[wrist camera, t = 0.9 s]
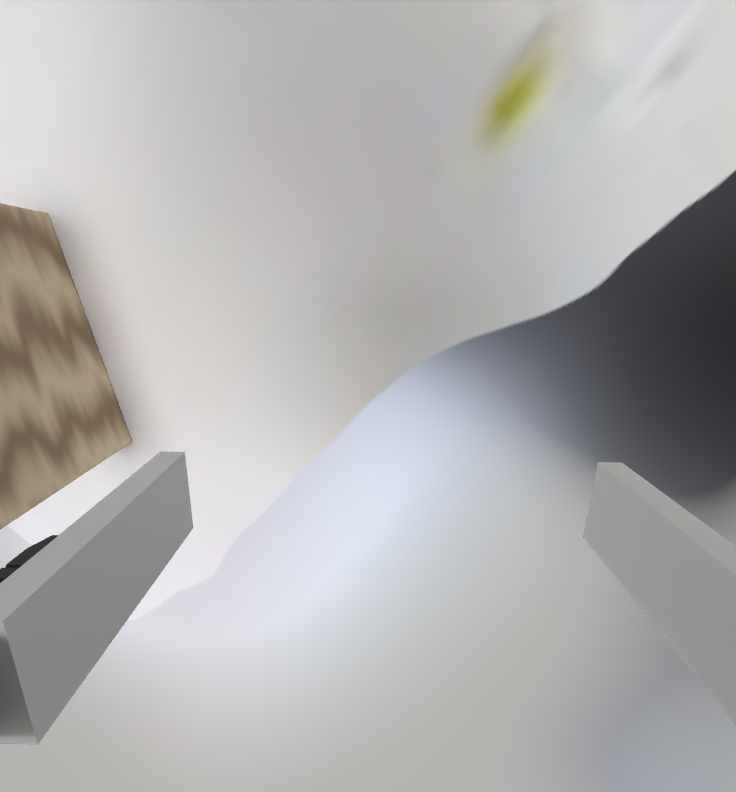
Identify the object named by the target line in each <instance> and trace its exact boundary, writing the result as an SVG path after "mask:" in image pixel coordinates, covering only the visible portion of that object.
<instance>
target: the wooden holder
mask: <svg viewBox="0 0 736 792" xmlns="http://www.w3.org/2000/svg"><path fill="white" fill-rule="evenodd" d="M131 442H132V440H131V437H130V434H129V432H128V429H127V426H126V424H125V421H124V418H123V415H122V413H121V410H120V407H119V405H118V402H117V399H116V397H115V394H114V391H113V388H112V386H111V383H110V380H109V378H108V375H107V372H106V369H105V367H104V364H103V361H102V359H101V356H100V353H99V350H98V348H97V345H96V342H95V340H94V337H93V334H92V331H91V329H90V326H89V323H88V321H87V318H86V315H85V313H84V310H83V307H82V304H81V302H80V299H79V296H78V294H77V291H76V288H75V285H74V283H73V280H72V277H71V275H70V272H69V269H68V266H67V264H66V261H65V258H64V256H63V253H62V250H61V248H60V245H59V242H58V239H57V237H56V234H55V231H54V229H53V226H52V223H51V220H50V218H49V215H48V213H43V212H38V211H33V210H29V209H24V208H19V207H14V206H10V205H5V204H0V529H2V528H3V527H5V526H6V525H8V524H9V523H11V522H12V521H14V520H15V519H17V518H18V517H20V516H21V515H23V514H24V513H26V512H27V511H29V510H30V509H32V508H33V507H35V506H36V505H38V504H39V503H41V502H42V501H44V500H45V499H47V498H48V497H50V496H51V495H53V494H54V493H56V492H57V491H59V490H60V489H62V488H63V487H65V486H66V485H68V484H69V483H71V482H72V481H74V480H75V479H77V478H78V477H80V476H81V475H83V474H84V473H86V472H87V471H89V470H90V469H92V468H93V467H95V466H96V465H98V464H99V463H101V462H102V461H104V460H105V459H107V458H108V457H110V456H111V455H113V454H114V453H116V452H117V451H119V450H120V449H122V448H123V447H125V446H126V445H128V444H129V443H131Z"/></svg>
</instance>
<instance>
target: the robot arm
mask: <svg viewBox="0 0 736 792" xmlns="http://www.w3.org/2000/svg"><path fill="white" fill-rule="evenodd" d="M192 529H193V522H192V513H191V504H190V495H189V486H188V477H187V468H186V459H185V452H160V453H158V454H157V455H156V456H155V457H154V458H152V459H151V460H150V461H149V462H148V463H146V464H145V465H144V466H143V467H141V468H140V469H139V470H138V471H137V472H135V473H134V474H133V475H132V476H130V477H129V478H128V479H127V480H126V481H124V482H123V483H122V484H121V485H119V486H118V487H117V488H116V489H115V490H113V491H112V492H111V493H110V494H109V495H107V496H106V497H105V498H104V499H102V500H101V501H100V502H99V503H98V504H96V505H95V506H94V507H93V508H91V509H90V510H89V511H88V512H87V513H85V514H84V515H83V516H82V517H81V518H79V519H78V520H77V521H76V522H74V523H73V524H72V525H71V526H70V527H68V528H67V529H66V530H65V531H63V532H62V533H61V534H60V535H52V536H50V537H48V538H46V539H44V540H42V541H40V542H39V543H37V544H35V545H33V546H31V547H29V548H27V549H26V550H24V551H23V552H22V553H21V554H19V555H18V556H17V557H15V558H14V559H13V560H12V561H10V562H9V563H8V564H7V565H6V567H5V568H1V569H0V744H27V745H38V744H39V742H40V741H41V739H42V738H43V737H44V735H45V734H46V732H47V731H48V730H49V728H50V727H51V725H52V724H53V723H54V721H55V720H56V718H57V717H58V716H59V714H60V713H61V711H62V710H63V709H64V707H65V706H66V705H67V703H68V702H69V700H70V699H71V698H72V696H73V695H74V693H75V692H76V691H77V689H78V687H79V686H80V685H81V684H82V682H83V681H84V679H85V678H86V677H87V675H88V674H89V672H90V671H91V670H92V668H93V667H94V665H95V664H96V663H97V661H98V660H99V658H100V657H101V656H102V654H103V653H104V651H105V650H106V649H107V647H108V646H109V644H110V643H111V642H112V640H113V639H114V638H115V636H116V635H117V633H118V632H119V630H120V629H121V627H122V626H123V625H124V624H125V622H126V621H127V619H128V618H129V617H130V615H131V614H132V612H133V611H134V610H135V608H136V607H137V605H138V604H139V603H140V601H141V600H142V598H143V597H144V596H145V594H146V593H147V591H148V590H149V589H150V587H151V586H152V584H153V583H154V582H155V580H156V579H157V577H158V576H159V575H160V573H161V572H162V571H163V569H164V568H165V566H166V565H167V564H168V562H169V561H170V559H171V558H172V557H173V555H174V554H175V552H176V551H177V550H178V548H179V547H180V545H181V544H182V543H183V541H184V540H185V538H186V537H187V536H188V534H189V533H190V531H191V530H192ZM583 538H584V539H585V540H586V541H587V543H588V544H589V545H590V546H591V548H592V549H593V550H594V551H595V552H596V554H597V555H598V556H599V557H600V559H601V560H602V561H603V562H604V563H605V565H606V566H607V567H608V568H609V570H610V571H611V572H612V573H613V574H614V576H615V577H616V578H617V579H618V581H619V582H620V583H621V584H622V586H623V587H624V588H625V589H626V590H627V592H628V593H629V594H630V595H631V597H632V598H633V599H634V600H635V601H636V603H637V604H638V605H639V606H640V607H641V609H642V610H643V611H644V612H645V614H646V615H647V616H648V617H649V618H650V620H651V621H652V622H653V623H654V625H655V626H656V627H657V628H658V629H659V631H660V632H661V633H662V635H663V636H664V637H665V638H666V639H667V641H668V642H669V643H670V644H671V646H672V647H673V648H674V649H675V650H676V651H677V653H678V654H679V655H680V657H681V658H682V659H683V660H684V661H685V663H686V664H687V665H688V666H689V668H690V669H691V670H692V671H693V672H694V674H695V675H696V676H697V677H698V679H699V680H700V681H701V682H702V683H703V685H704V686H705V687H706V688H707V690H708V691H709V692H710V693H711V694H712V696H713V697H714V698H715V699H716V701H717V702H718V703H719V704H720V706H721V707H722V708H723V709H724V710H725V712H726V713H727V714H728V715H729V716H730V718H731V719H732V720H733V721H734V723H735V724H736V547H735V546H734V545H733V544H731V543H730V542H729V541H727V540H726V539H725V538H723V537H722V536H721V535H719V534H718V533H716V532H715V531H714V530H712V529H711V528H710V527H708V526H707V525H706V524H704V523H703V522H702V521H700V520H699V519H697V518H696V517H695V516H693V515H692V514H691V513H689V512H688V511H687V510H685V509H684V508H683V507H681V506H680V505H679V504H677V503H676V502H674V501H673V500H672V499H670V498H669V497H668V496H666V495H665V494H664V493H662V492H661V491H659V490H658V489H657V488H656V487H654V486H653V485H651V484H650V483H649V482H647V481H646V480H645V479H643V478H642V477H640V476H639V475H638V474H636V473H635V472H634V471H632V470H631V469H630V468H628V467H627V466H625V465H624V464H623V463H608V462H598V464H597V469H596V474H595V479H594V484H593V490H592V495H591V500H590V506H589V510H588V515H587V521H586V525H585V530H584V535H583Z"/></svg>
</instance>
